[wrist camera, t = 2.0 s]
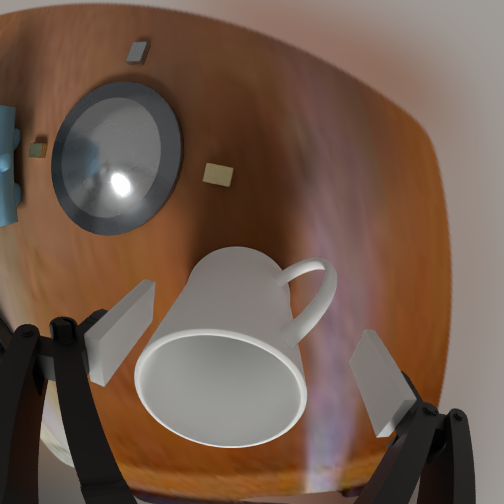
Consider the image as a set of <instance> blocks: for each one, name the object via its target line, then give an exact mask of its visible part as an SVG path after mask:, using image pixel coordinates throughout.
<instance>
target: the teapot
mask: <svg viewBox="0 0 504 504" xmlns="http://www.w3.org/2000/svg"><path fill="white" fill-rule="evenodd" d="M15 117H16V107H10V106H4V105H0V227H1V226H5V225H8V224H12V223H15V222H18V219H17V211H16V206H17V205H18V204H19V203H20V200H21V189H20V186H19V185H18V184H17V183H14V150H15V149H16V148H17V146H18V144H19V141H20V131H19V129H18V128H15Z"/></svg>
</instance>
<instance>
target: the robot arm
mask: <svg viewBox="0 0 504 504" xmlns="http://www.w3.org/2000/svg"><path fill="white" fill-rule="evenodd" d="M155 284H156V282H153V281H149V280H146V279H144V280H143V281H141V282H140V283H139V284H138V285H137V286H136V287H135V288H134V289H132V290H131V291H130V292H129V293H128V294H127V295H126V296H125V297H124V298H123V299H121V300H120V301H119V302H118V303H117V304H116V305H115V306H114V307H113V308H112V309H110V310H109V311H107V310H104V309H100V310H97V311H95V312H93V313H92V314H91V315H90V316H89V317H87V318H86V319H85V320H84V321H83V322H82V323H81V324H80V325H77V323H76V321H75V320H74V319H72V318H69V317H57V318H55V319H53V320H52V321H51V322H50V325H49V326H50V332H51V338H49V337H44V336H40V333H39V330H38V328H37V327H36V326H35V325H31V324H24V325H21V326H19V327H18V328H17V329H16V330H15V332H14V334H13V336H12V334H11V333H10V331H9V330H8V328H7V327H6V326H5V324H4V323H3V322H2V321H1V319H0V504H39V503H38V501H39V500H38V455H39V440H40V430H41V421H42V414H43V407H44V400H45V395H46V389H47V384H48V380H52V381H56V387H57V393H58V400H59V405H60V411H61V416H62V421H63V425H64V430H65V434H66V438H67V442H68V446H69V449H70V453H71V456H72V459H73V463H74V466H75V469H76V472H77V475H78V478H79V481H80V484H81V487H80V488H81V492H82V494H83V497H84V500H85V502H86V504H137V502H136V500H135V498H134V496H133V494H132V492H131V490H130V488H129V487H128V485H127V483H126V481H125V480H124V478H123V476H122V474H121V472H120V470H119V468H118V466H117V463H116V461H115V459H114V456H113V454H112V451H111V449H110V447H109V444H108V441H107V439H106V436H105V433H104V431H103V428H102V425H101V422H100V419H99V416H98V413H97V410H96V407H95V404H94V400H93V397H92V393H91V390H90V386H89V382H88V378H87V375H88V373H90V379H91V381H92V382H94V383H97V384H99V385H101V386H103V387H105V386H106V384H107V383H108V381H109V380H110V378H111V377H112V376H113V374H114V373H115V371H116V370H117V369H118V367H119V366H120V364H121V363H122V362H123V360H124V359H125V357H126V356H127V355H128V353H129V352H130V351H131V349H132V348H133V346H134V345H135V344H136V342H137V341H138V340H139V338H140V337H141V336H142V334H143V333H144V332H145V330H146V329H147V328H148V326H149V325H150V324H151V322H152V319H153V306H154V294H155ZM349 365H350V367H351V370H352V372H353V375H354V378H355V380H356V383H357V385H358V388H359V391H360V393H361V396H362V398H363V401H364V404H365V407H366V409H367V412H368V415H369V417H370V420H371V423H372V426H373V429H374V431H375V434H376V437H389V435H390V434H391V433H392V432H393V430H394V429H395V431H396V433H397V435H396V436H395V437H394V438H393V439H392V440H391V442H390V443H389V444H388V445H387V446H386V448H388V449H387V451H386V453H385V455H384V457H383V458H382V460H381V462H380V464H379V465H378V467H377V469H376V470H375V472H374V474H373V475H372V477H371V478H370V480H369V482H368V483H367V485H366V486H365V488H364V489H363V491H362V492H361V494H360V495H359V497H358V498H357V499H356V501H355V502H354V504H408V503H409V501H410V498H411V496H412V494H413V491H414V489H415V487H416V484H417V482H418V480H419V477H420V485H419V493H418V499H417V504H476V495H475V493H476V492H475V472H474V461H473V451H472V443H471V437H470V431H469V425H468V419H467V416H466V415H465V413H464V412H463V411H462V410H459V409H451V411H450V412H449V413H448V414H447V415H444V414H439V412H438V410H437V408H436V407H435V406H434V405H432V404H430V403H426V402H423V400H422V398H421V397H420V395H419V393H418V392H417V390H416V388H415V387H414V385H413V384H412V382H411V380H410V378H409V377H408V376H407V375H406V374H405V373H404V372H403V371H400V370H399V368H398V366H397V365H396V363H395V362H394V360H393V358H392V357H391V355H390V353H389V352H388V350H387V349H386V347H385V345H384V344H383V342H382V341H381V339H380V338H379V336H378V334H377V333H376V331H375V330H369V329H365V330H364V332H363V334H362V336H361V338H360V341H359V343H358V345H357V347H356V349H355V351H354V353H353V355H352V358H351V360H350V362H349Z"/></svg>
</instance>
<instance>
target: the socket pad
mask: <svg viewBox="0 0 504 504" xmlns="http://www.w3.org/2000/svg"><path fill="white" fill-rule="evenodd" d="M149 48H150V44H149V43H148V42H133V44H132V47H131V49H130V52H129V54H128V57H127V60H126V62H127V63H129V64H144V61H145V58H146V56H147V53H148V50H149ZM46 148H47V144H42V143H31V144H30V149H29V156H28V157H36V158H45V154H46ZM183 157H184V142H183V134H182V129H181V125H180V123H179V120H178V117H177V115H176V113H175V112H174V110H173V108H172V107H171V106H170V104H169V103H168V102H167V101H166V100H165V99H164V98H163V97H162V96H161V95H160V94H158V93H157V92H156V91H154V90H153V89H151V88H150V87H147V86H145V85H143V84H140V83H136V82H128V81H122V82H114V83H110V84H106V85H104V86H101V87H99V88H97V89H95V90H93V91H91V92H90V93H89V94H87V95H86V96H84V97H83V98H82V99H81V100H80V101H79V102H78V103H77V104H76V105H75V106H74V107H73V108H72V109H71V111H70V112H69V113H68V115H67V116H66V118H65V120H64V121H63V123H62V125H61V127H60V129H59V131H58V134H57V137H56V140H55V143H54V147H53V152H52V160H51V173H52V181H53V187H54V190H55V193H56V196H57V199H58V201H59V203H60V205H61V207H62V208H63V210H64V212H65V213H66V214H67V215H68V217H69V218H70V219H71V220H72V221H73V222H74V223H76V224H77V225H78V226H80V227H81V228H83V229H85V230H87V231H89V232H92V233H94V234H99V235H118V234H122V233H126V232H129V231H131V230H133V229H135V228H137V227H140V226H142V225H143V224H145V223H146V222H148V221H149V220H151V219H152V218H153V217H154V216H155V215H156V214H157V213H158V212H159V211H160V210H161V209H162V208H163V207H164V205H165V204H166V203H167V201H168V200H169V198H170V197H171V195H172V193H173V191H174V189H175V187H176V184H177V182H178V179H179V176H180V173H181V169H182V164H183ZM233 173H234V168H230V167H226V166H221V165H216V164H210V163H206V168H205V172H204V177H203V182H208V183H213V184H218V185H223V186H227V187H230V186H231V182H232V177H233Z"/></svg>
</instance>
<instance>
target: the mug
mask: <svg viewBox="0 0 504 504" xmlns="http://www.w3.org/2000/svg"><path fill="white" fill-rule="evenodd" d="M316 269H324V270H325V277H324V280H323V283H322V285H321V287H320V289H319V291H318V292H317V294H316V295H315V297H314V298H313V300H312V301H311V302H310V304H309V305H308V306H307V307H306V308H305V309H304V310H303V311H302V313H301V314H300V315H298V316H297V317H296V318H295V319H294V320H293V317H292V312H291V308H290V289H289V284H288V282H289V281H290V280H292V279H293V278H295V277H297V276H299V275H301V274H303V273H305V272H308V271H311V270H316ZM336 287H337V273H336V270H335V268H334V267H333V265H332V264H331V263H330V262H329V261H328V260H326V259H324V258H321V257H313V258H308V259H305V260H302V261H299V262H297V263H295V264H293V265H291V266H289V267H287V268H286V269H284V270H282V269H281V268H280V267H279V266H278V264H277V263H276V262H275V261H274V260H272V259H271V258H270V257H268V256H267V255H265V254H264V253H262V252H260V251H257V250H254V249H251V248H247V247H226V248H222V249H218V250H216V251H213V252H211V253H210V254H208V255H206V256H205V257H204V258H202V259H201V260H200V261H199V262H198V263H197V264H196V266H195V267H194V268H193V270H192V272H191V274H190V276H189V279H188V282H187V284H186V286H185V287H184V289H183V290H182V292H181V293H180V295H179V296H178V298H177V299H176V301H175V302H174V304H173V305H172V307H171V308H170V310H169V311H168V313H167V314H166V316H165V317H164V319H163V320H162V322H161V323H160V325H159V326H158V328H157V329H156V331H155V333H154V334H153V336H152V337H151V339H150V340H149V342H148V343H147V345H146V347H145V348H144V350H143V351H142V353H141V355H140V357H139V359H138V361H137V364H136V367H135V373H134V380H135V386H136V390H137V393H138V396H139V398H140V400H141V402H142V403H143V405H144V406H145V408H146V409H147V410H148V412H149V413H150V414H151V415H152V416H153V417H154V418H155V419H156V420H157V421H158V422H159V423H161V424H162V425H163V426H165V427H166V428H167V429H169V430H171V431H172V432H174V433H176V434H178V435H180V436H182V437H184V438H186V439H189V440H191V441H194V442H197V443H201V444H205V445H210V446H216V447H226V448H238V447H248V446H254V445H258V444H262V443H265V442H268V441H270V440H273V439H275V438H277V437H279V436H281V435H282V434H284V433H285V432H287V431H288V430H289V429H290V428H292V427H293V426H294V425H295V423H296V422H297V421H298V420H299V418H300V417H301V415H302V413H303V411H304V409H305V406H306V402H307V387H306V381H305V376H304V371H303V366H302V361H301V356H300V351H299V346H298V342H299V341H300V340H301V339H302V338H303V337H304V336H305V335H306V334H307V333H308V332H309V331H310V330H311V329H312V328H313V327H314V326H315V325H316V323H317V322H318V321H319V320H320V318H321V317H322V316H323V314H324V313H325V311H326V310H327V308H328V307H329V305H330V303H331V301H332V299H333V297H334V294H335V291H336Z"/></svg>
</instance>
